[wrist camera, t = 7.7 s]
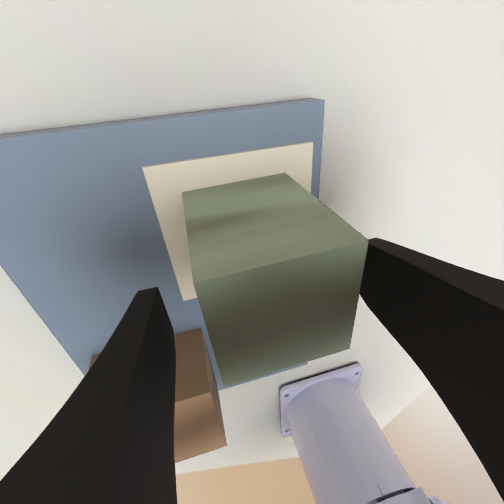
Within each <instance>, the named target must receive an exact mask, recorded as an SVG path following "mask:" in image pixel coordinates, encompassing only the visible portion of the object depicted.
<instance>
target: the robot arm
mask: <svg viewBox="0 0 504 504" xmlns="http://www.w3.org/2000/svg"><path fill="white" fill-rule="evenodd" d="M359 294H360V295H361V297H362V299H363V300H364V302H365V303H366V305H367V306H368V307H369V309H370V310H371V311H372V312H373V313H374V315H375V316H376V317H377V318H378V319H379V321H380V322H381V323H382V324H383V325H384V327H385V328H386V329H387V330H388V331H389V332H390V334H391V335H392V336H393V337H394V338H395V339H396V341H397V342H398V343H399V344H400V345H401V346H402V348H403V349H404V350H405V351H406V352H407V353H408V355H409V356H410V357H411V358H412V359H413V361H414V362H415V363H416V364H417V366H418V367H419V368H420V370H421V371H422V372H423V374H424V375H425V377H426V378H427V379H428V381H429V382H430V384H431V385H432V387H433V388H434V389H435V391H436V392H437V394H438V395H439V396H440V398H441V399H442V401H443V403H444V404H445V405H446V407H447V409H448V410H449V412H450V413H451V415H452V416H453V418H454V419H455V421H456V422H457V423H458V425H459V427H460V428H461V430H462V432H463V433H464V435H465V436H466V438H467V440H468V441H469V443H470V445H471V446H472V448H473V449H474V451H475V453H476V454H477V456H478V458H479V459H480V461H481V463H482V464H483V466H484V468H485V470H486V471H487V473H488V475H489V476H490V478H491V480H492V482H493V484H494V485H495V487H496V489H497V491H498V492H499V494H500V496H501V498H502V499H503V501H504V281H503V280H499V279H496V278H493V277H489V276H486V275H483V274H480V273H477V272H474V271H471V270H468V269H464V268H461V267H459V266H456V265H453V264H450V263H447V262H444V261H441V260H439V259H436V258H433V257H430V256H428V255H425V254H422V253H420V252H417V251H414V250H411V249H409V248H406V247H403V246H400V245H398V244H395V243H392V242H389V241H386V240H382V239H379V238H373V239H369V241H368V247H367V253H366V258H365V264H364V270H363V275H362V281H361V286H360V292H359ZM361 371H362V366H361V365H360V364H354V365H351V366H347V367H344V368H341V369H338V370H334V371H331V372H328V373H325V374H321V375H318V376H315V377H312V378H309V379H305V380H302V381H299V382H296V383H292V384H289V385H286V386H283V387H282V388H281V389H280V407H281V433H282V436H283V437H288V436H291V435H292V437H293V439H294V442H295V445H296V448H297V451H298V454H299V457H300V460H301V462H302V465H303V468H304V471H305V474H306V477H307V480H308V483H309V486H310V488H311V491H312V494H313V497H314V499H315V502H316V504H449V503H447V502H445V501H443V500H441V499H439V498H438V497H437V496H435V495H431V496H429V497H427V496H426V494H425V493H424V491H423V490H422V488H421V487H418V488H416V487H415V485H414V484H413V482H412V481H411V479H410V477H409V475H408V474H407V472H406V470H405V469H404V467H403V466H402V464H401V462H400V461H399V459H398V457H397V456H396V454H395V452H394V451H393V449H392V447H391V446H390V444H389V442H388V441H387V439H386V437H385V436H384V434H383V432H382V431H381V429H380V427H379V426H378V424H377V422H376V421H375V419H374V417H373V416H372V414H371V413H370V411H369V409H368V408H367V406H366V404H365V403H364V401H363V399H362V398H361V396H360V394H359V393H358V391H357V386H358V382H359V378H360V375H361ZM175 383H176V350H175V339H174V329H173V326H172V324H171V321H170V318H169V316H168V313H167V310H166V307H165V305H164V302H163V299H162V297H161V294H160V291H159V288H158V287H153V288H149V289H144V290H140V291H138V292H137V293H136V294H135V296H134V298H133V300H132V301H131V303H130V305H129V307H128V308H127V310H126V312H125V314H124V315H123V317H122V319H121V320H120V322H119V324H118V326H117V327H116V329H115V331H114V332H113V334H112V335H111V337H110V339H109V340H108V342H107V343H106V345H105V347H104V348H103V350H102V351H101V353H100V354H99V356H98V357H97V359H96V360H95V362H94V363H93V365H92V366H91V368H90V369H89V371H88V372H87V374H86V375H85V376H84V378H83V379H82V381H81V382H80V384H79V385H78V386H77V388H76V389H75V391H74V392H73V393H72V395H71V396H70V397H69V399H68V400H67V401H66V403H65V404H64V405H63V407H62V408H61V409H60V411H59V412H58V413H57V414H56V416H55V417H54V418H53V419H52V421H51V422H50V423H49V425H48V426H47V427H46V428H45V430H44V431H43V432H42V433H41V434H40V436H39V437H38V438H37V439H36V440H35V442H34V443H33V444H32V445H31V446H30V447H29V449H28V450H27V451H26V452H25V453H24V454H23V456H22V457H21V458H20V459H19V460H18V461H17V462H16V464H15V465H14V466H13V467H12V468H11V469H10V471H9V472H8V473H7V474H6V475H5V476H4V477H3V479H2V480H1V481H0V504H177V493H176V477H175V459H174V413H175Z"/></svg>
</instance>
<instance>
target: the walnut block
mask: <svg viewBox="0 0 504 504" xmlns="http://www.w3.org/2000/svg"><path fill="white" fill-rule="evenodd" d="M174 339H175V350H176V383H175V413H174V459H175V463H177V462H180V461H183V460H186V459H189V458H191V457H194V456H197V455H200V454H203V453H206V452H209V451H212V450H215V449H218V448H221V447H224V446H227V444H226V438H225V431H224V425H223V419H222V413H221V406H220V400H219V394H218V388H217V382H216V379H215V375H214V371H213V368H212V364H211V361H210V357H209V353H208V350H207V346H206V343H205V339H204V335H203V332H202V328H201V327H200V328H196V329H192V330H188V331H185V332H181V333H177V334H174ZM99 354H100V353H98V354H95V355H92V359H91V362H90V366H89V369H90V368H91V366H92V365H93V363H94V362H95V360H96V359H97V357H98V356H99ZM88 371H89V370H88Z"/></svg>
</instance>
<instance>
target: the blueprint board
mask: <svg viewBox="0 0 504 504" xmlns="http://www.w3.org/2000/svg"><path fill="white" fill-rule="evenodd" d="M324 101H325V100H321V99H314V98H308V99H300V100H291V101H283V102H274V103H266V104H257V105H249V106H240V107H232V108H223V109H215V110H206V111H198V112H189V113H181V114H172V115H164V116H155V117H147V118H138V119H130V120H121V121H113V122H104V123H96V124H87V125H79V126H70V127H62V128H53V129H45V130H36V131H28V132H19V133H11V134H2V135H0V266H1V267H2V268H3V269H4V271H5V272H6V273H7V275H8V276H9V277H10V279H11V280H12V281H13V282H14V284H15V285H16V286H17V288H18V289H19V290H20V292H21V293H22V294H23V296H24V297H25V298H26V299H27V301H28V302H29V303H30V305H31V306H32V307H33V309H34V310H35V311H36V313H37V314H38V315H39V316H40V318H41V319H42V320H43V322H44V323H45V324H46V326H47V327H48V328H49V330H50V331H51V332H52V333H53V335H54V336H55V337H56V339H57V340H58V341H59V343H60V344H61V345H62V347H63V348H64V349H65V350H66V352H67V353H68V354H69V356H70V357H71V358H72V360H73V361H74V362H75V364H76V365H77V366H78V367H79V369H80V370H81V371H82V373H83V374H84V375H86V374H87V372H88V370H89V366H90V362H91V359H92V355H95V354H98V353H101V351H102V350H103V348H104V347H105V345H106V343H107V342H108V340H109V339H110V337H111V335H112V334H113V332H114V331H115V329H116V327H117V326H118V324H119V322H120V320H121V319H122V317H123V315H124V314H125V312H126V310H127V308H128V307H129V305H130V303H131V301H132V300H133V298H134V296H135V294H136V293H137V292H138V291H140V290H144V289H149V288H153V287H158V288H159V291H160V294H161V297H162V299H163V302H164V305H165V307H166V310H167V313H168V316H169V318H170V321H171V324H172V326H173V329H174V334H177V333H181V332H185V331H188V330H192V329H196V328H200V327H201V328H202V332H203V335H204V339H205V343H206V346H207V350H208V353H209V357H210V361H211V364H212V368H213V371H214V375H215V379H216V382H217V388H218V391H219V390H222V389H226V388H229V387H232V386H236V385H239V384H242V383H246V382H249V381H252V380H256V379H259V378H262V377H266V376H269V375H272V374H276V373H279V372H282V371H286V370H289V369H292V368H296V367H299V366H302V365H306V364H307V362H304V363H301V364H298V365H295V366H292V367H288V368H285V369H282V370H279V371H275V372H272V373H269V374H266V375H263V376H259V377H256V378H253V379H250V380H246V381H243V382H240V383H237V384H234V385H230V386H227V387H224V386H223V382H222V379H221V376H220V372H219V369H218V366H217V362H216V359H215V355H214V352H213V349H212V345H211V342H210V339H209V335H208V332H207V328H206V325H205V322H204V318H203V315H202V311H201V308H200V305H199V301H198V298H197V295H196V291H195V288H194V284H193V278H192V270H191V262H190V254H189V246H188V238H187V230H186V222H185V213H184V205H183V197H182V192H185V191H190V190H195V189H201V188H206V187H211V186H217V185H222V184H227V183H233V182H238V181H243V180H249V179H254V178H259V177H265V176H270V175H275V174H281V173H286V174H287V175H289V176H290V177H291V178H292V179H294V180H295V181H296V182H297V183H298V184H300V185H301V186H302V187H303V188H305V189H306V190H307V191H308V192H310V193H311V194H312V195H313V196H315V197H316V198H317V199H318V193H319V177H320V162H321V147H322V132H323V117H324Z"/></svg>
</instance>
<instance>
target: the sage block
mask: <svg viewBox="0 0 504 504" xmlns="http://www.w3.org/2000/svg"><path fill="white" fill-rule="evenodd" d="M182 197H183V205H184V213H185V222H186V230H187V238H188V246H189V254H190V262H191V270H192V278H193V284H194V288H195V291H196V295H197V298H198V301H199V305H200V308H201V311H202V315H203V318H204V322H205V325H206V328H207V332H208V335H209V339H210V342H211V345H212V349H213V352H214V355H215V359H216V362H217V366H218V369H219V372H220V376H221V379H222V382H223V386H224V387H227V386H230V385H234V384H237V383H240V382H243V381H246V380H250V379H253V378H256V377H259V376H263V375H266V374H269V373H272V372H275V371H279V370H282V369H285V368H288V367H292V366H295V365H298V364H301V363H304V362H308V361H311V360H314V359H317V358H321V357H324V356H327V355H330V354H333V353H337V352H340V351H343V350H346V349H349V348H350V343H351V337H352V331H353V326H354V320H355V315H356V309H357V303H358V298H359V292H360V286H361V281H362V275H363V270H364V264H365V258H366V253H367V247H368V241H369V240H368V239H367V238H365V237H364V236H363V235H362V234H360V233H359V232H358V231H357V230H355V229H354V228H353V227H352V226H350V225H349V224H348V223H347V222H345V221H344V220H343V219H342V218H341V217H339V216H338V215H337V214H336V213H334V212H333V211H332V210H331V209H329V208H328V207H327V206H326V205H324V204H323V203H322V202H321V201H319V200H318V199H317V198H316V197H315V196H313V195H312V194H311V193H310V192H308V191H307V190H306V189H305V188H303V187H302V186H301V185H300V184H298V183H297V182H296V181H295V180H294V179H292V178H291V177H290V176H289V175H287V174H286V173H281V174H275V175H270V176H265V177H259V178H254V179H249V180H243V181H238V182H233V183H227V184H222V185H217V186H211V187H206V188H201V189H195V190H190V191H185V192H182Z"/></svg>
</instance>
